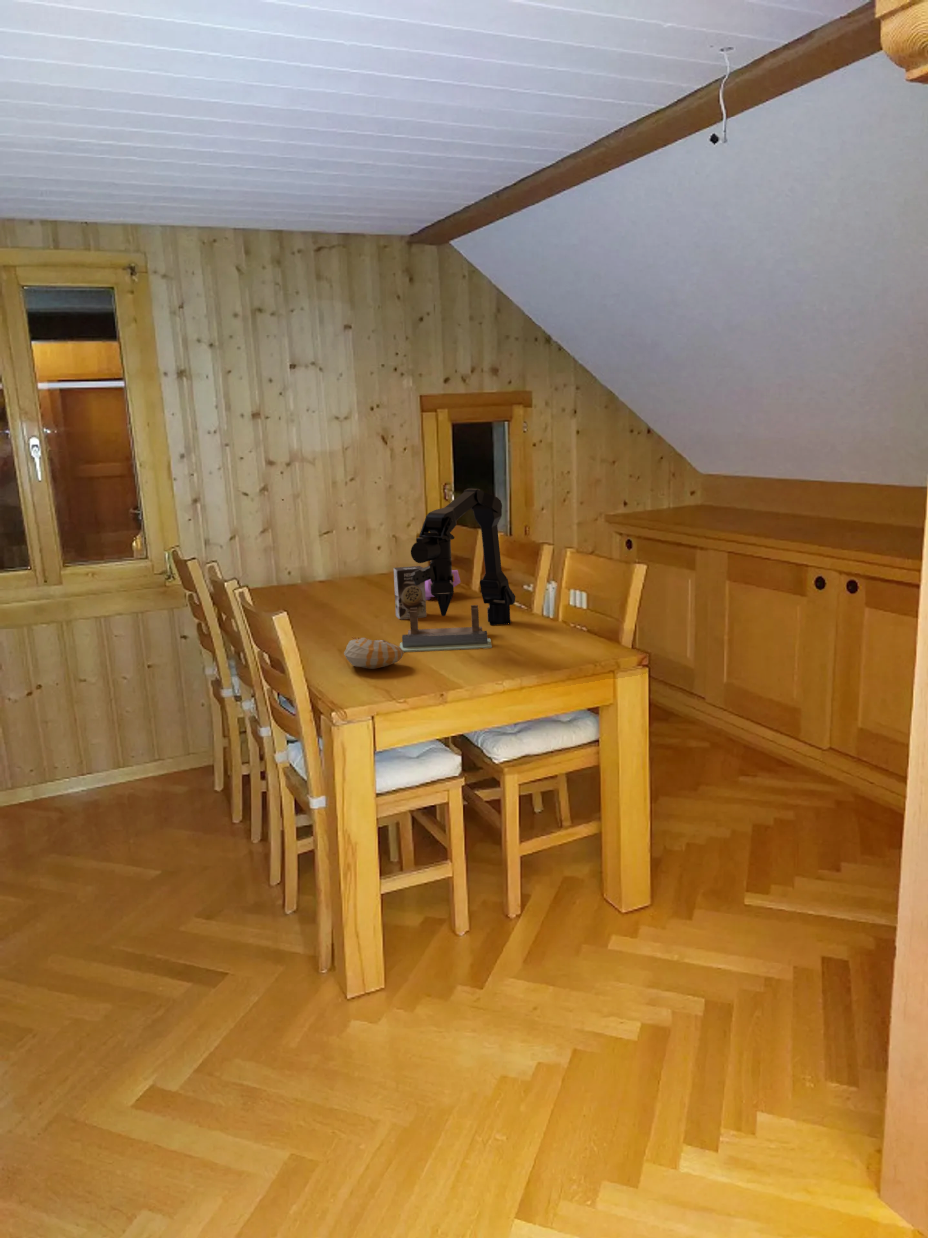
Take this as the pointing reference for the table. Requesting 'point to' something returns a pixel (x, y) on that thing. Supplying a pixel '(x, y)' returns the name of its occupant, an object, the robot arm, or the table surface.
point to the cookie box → (408, 593)
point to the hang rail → (444, 639)
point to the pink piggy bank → (429, 582)
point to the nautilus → (372, 653)
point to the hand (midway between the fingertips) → (443, 612)
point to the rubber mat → (446, 647)
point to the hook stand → (444, 630)
